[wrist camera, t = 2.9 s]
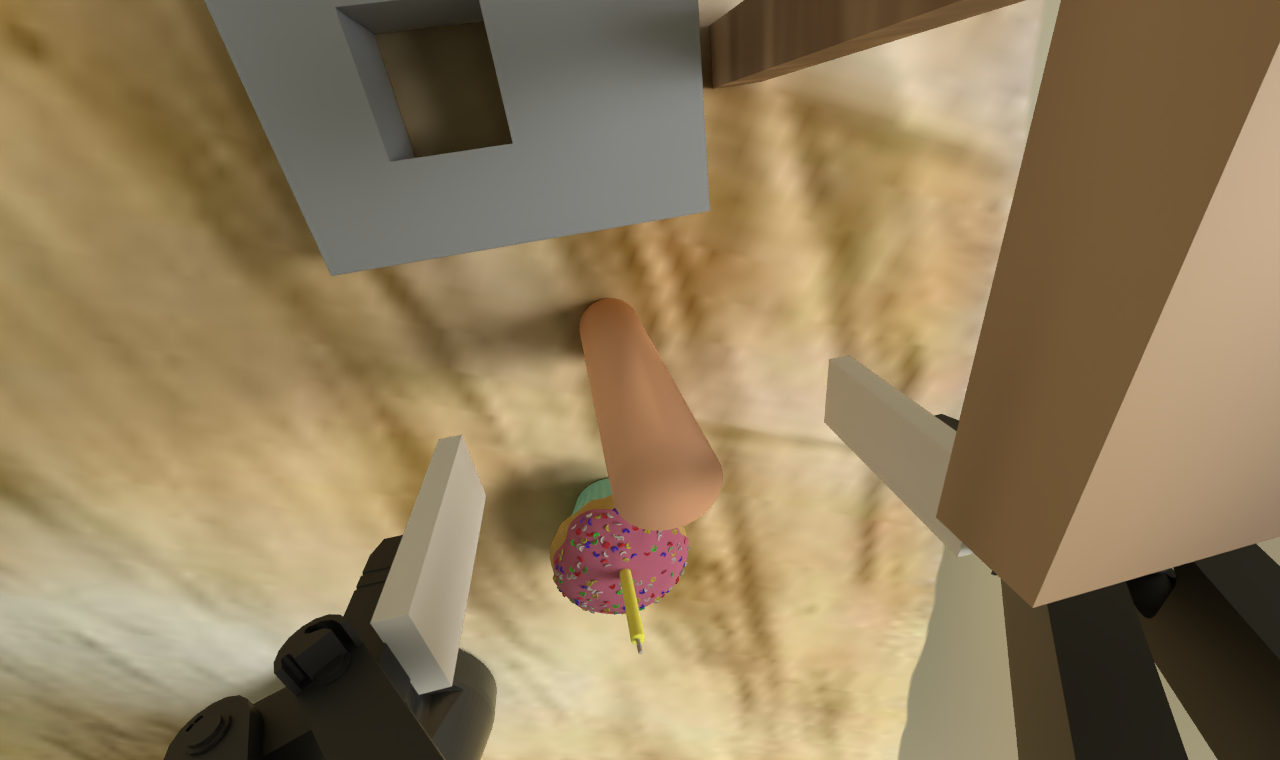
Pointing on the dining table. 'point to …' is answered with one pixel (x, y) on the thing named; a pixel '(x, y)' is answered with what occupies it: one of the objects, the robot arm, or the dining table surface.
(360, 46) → the socket block
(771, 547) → the dining table surface
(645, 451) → the peg
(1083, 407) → the wooden t-shaped stand
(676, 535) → the cupcake
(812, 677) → the dining table surface
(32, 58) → the dining table surface
